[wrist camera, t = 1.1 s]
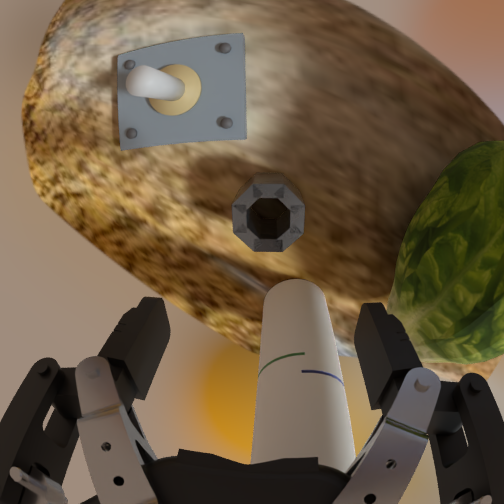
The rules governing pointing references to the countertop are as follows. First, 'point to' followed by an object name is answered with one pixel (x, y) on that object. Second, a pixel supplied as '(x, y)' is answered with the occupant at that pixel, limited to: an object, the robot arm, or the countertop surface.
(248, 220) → the collar
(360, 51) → the countertop surface
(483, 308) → the lettuce
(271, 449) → the cylindrical container
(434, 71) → the countertop surface
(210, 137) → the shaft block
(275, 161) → the countertop surface
